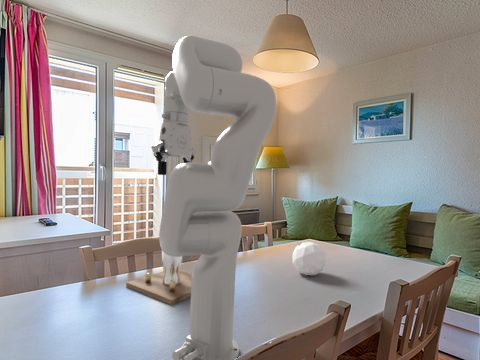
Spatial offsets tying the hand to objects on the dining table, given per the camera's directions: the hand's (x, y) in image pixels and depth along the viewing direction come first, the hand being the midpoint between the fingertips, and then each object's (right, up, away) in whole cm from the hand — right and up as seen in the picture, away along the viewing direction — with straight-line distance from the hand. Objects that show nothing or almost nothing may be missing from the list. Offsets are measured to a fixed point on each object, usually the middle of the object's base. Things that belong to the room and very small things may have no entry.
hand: (174, 175), depth 98 cm
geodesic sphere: (+48, -40, +29) cm, 69 cm away
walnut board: (-2, -38, +10) cm, 39 cm away
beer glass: (-3, -37, +9) cm, 38 cm away
